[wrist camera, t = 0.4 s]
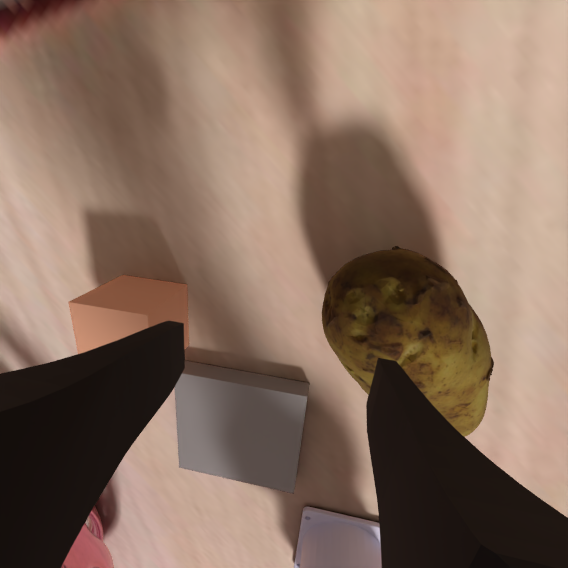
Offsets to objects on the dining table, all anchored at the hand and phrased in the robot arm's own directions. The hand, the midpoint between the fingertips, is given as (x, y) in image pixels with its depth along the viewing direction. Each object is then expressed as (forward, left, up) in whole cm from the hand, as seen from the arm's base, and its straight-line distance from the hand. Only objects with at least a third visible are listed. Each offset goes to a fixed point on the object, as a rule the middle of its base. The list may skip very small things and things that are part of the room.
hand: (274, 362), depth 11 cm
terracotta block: (-4, +11, -10) cm, 15 cm away
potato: (-2, -6, -10) cm, 12 cm away
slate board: (-13, +4, -10) cm, 17 cm away
